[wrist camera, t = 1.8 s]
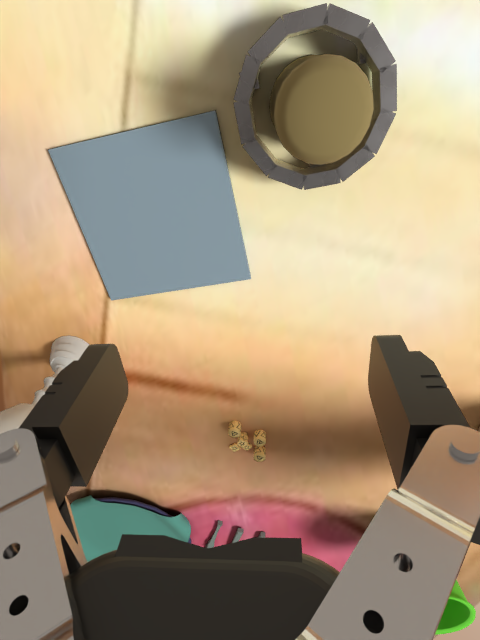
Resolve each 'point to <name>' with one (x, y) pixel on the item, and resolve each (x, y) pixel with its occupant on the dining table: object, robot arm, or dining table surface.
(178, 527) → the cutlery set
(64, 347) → the chalice
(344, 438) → the dining table surface
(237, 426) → the dice set
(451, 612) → the cup
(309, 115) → the cork
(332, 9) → the grey segmented ring
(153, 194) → the rubber mat
